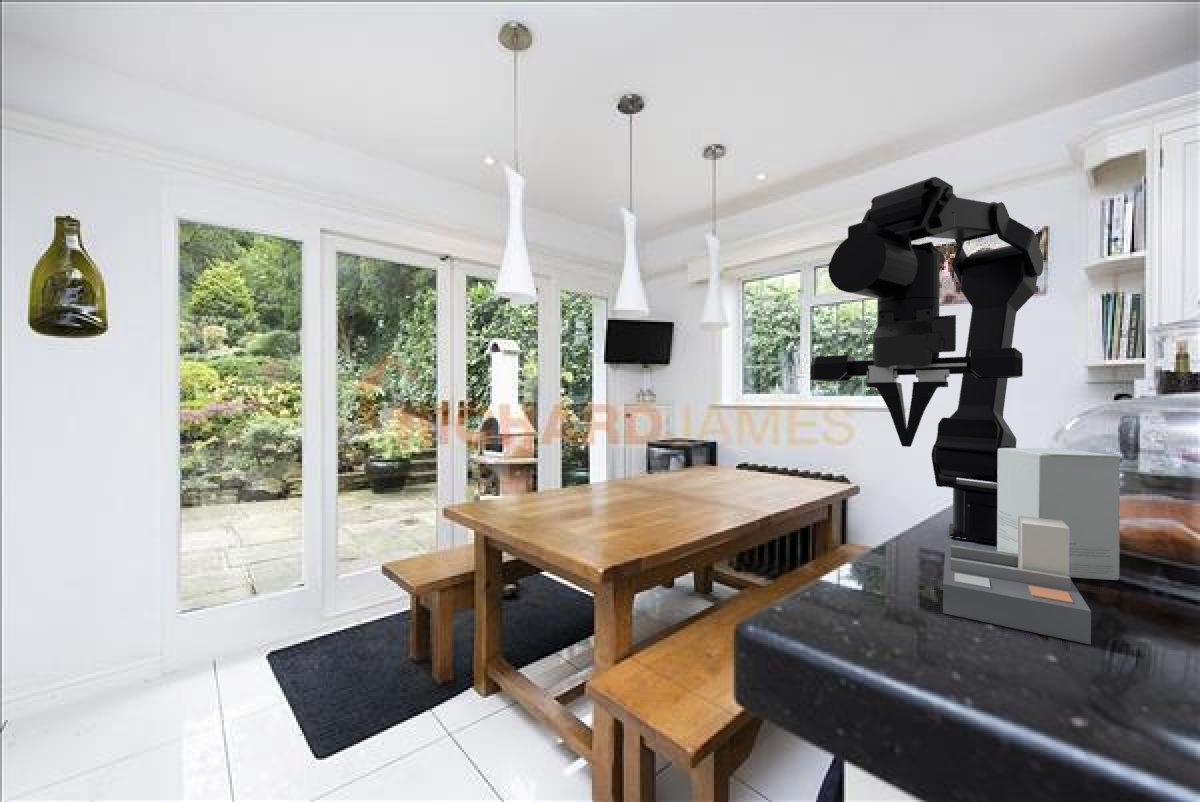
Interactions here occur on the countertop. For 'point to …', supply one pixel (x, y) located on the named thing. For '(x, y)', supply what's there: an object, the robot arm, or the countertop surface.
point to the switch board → (1012, 594)
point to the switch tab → (1043, 545)
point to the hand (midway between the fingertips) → (906, 446)
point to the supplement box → (1063, 503)
